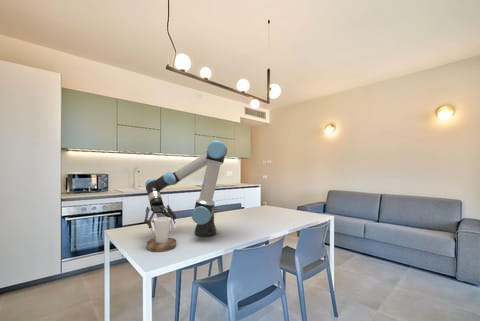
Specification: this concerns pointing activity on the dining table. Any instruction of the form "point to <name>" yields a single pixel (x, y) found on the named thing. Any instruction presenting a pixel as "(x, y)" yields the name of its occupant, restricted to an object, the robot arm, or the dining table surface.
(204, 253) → the dining table surface
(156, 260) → the dining table surface
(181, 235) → the dining table surface
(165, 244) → the walnut pedestal
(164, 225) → the foam cup
